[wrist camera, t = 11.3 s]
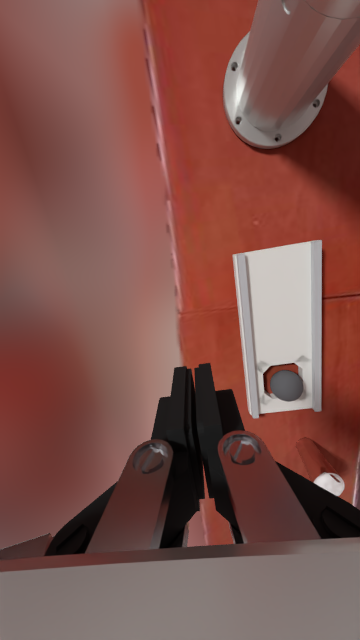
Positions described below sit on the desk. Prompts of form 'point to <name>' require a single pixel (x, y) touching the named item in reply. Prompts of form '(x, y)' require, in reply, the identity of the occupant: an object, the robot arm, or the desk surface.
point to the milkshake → (319, 467)
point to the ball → (286, 385)
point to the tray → (281, 320)
